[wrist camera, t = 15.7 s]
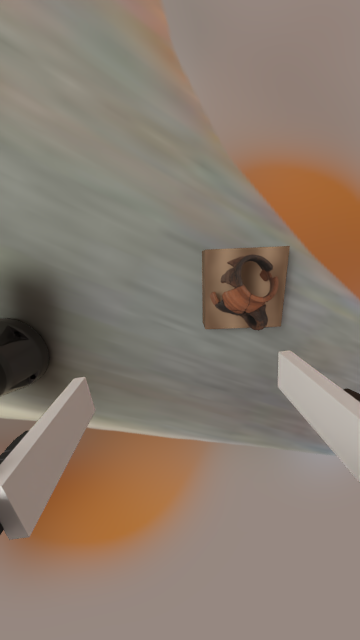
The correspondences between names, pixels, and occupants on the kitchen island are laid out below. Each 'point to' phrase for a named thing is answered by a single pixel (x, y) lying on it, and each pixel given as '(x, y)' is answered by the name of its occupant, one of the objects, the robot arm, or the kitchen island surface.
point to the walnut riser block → (250, 274)
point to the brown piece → (246, 292)
